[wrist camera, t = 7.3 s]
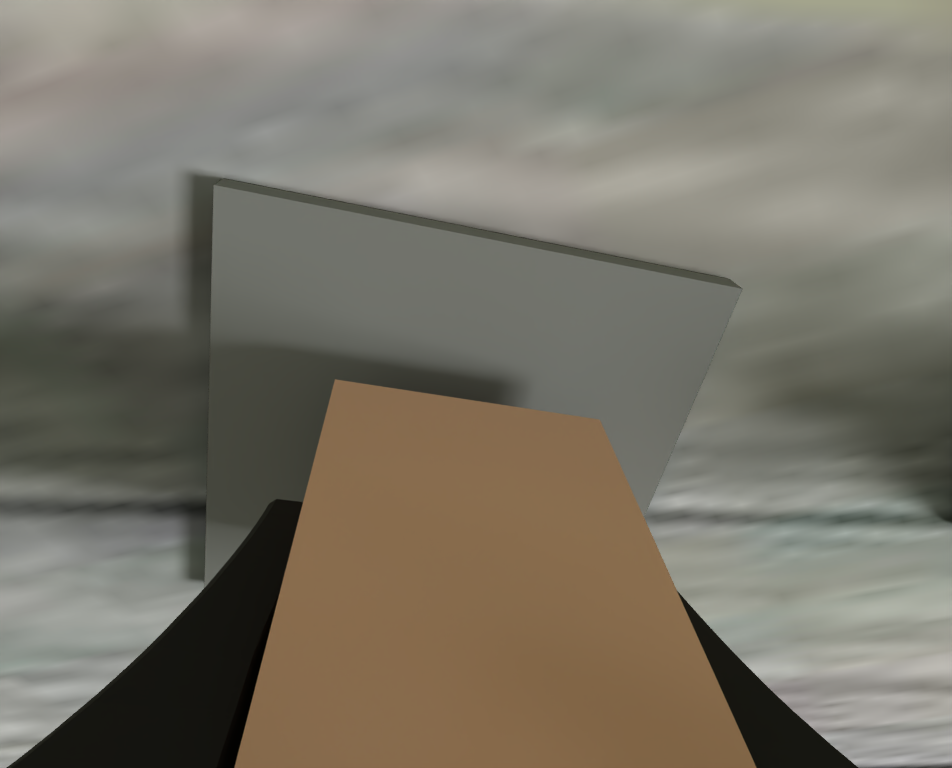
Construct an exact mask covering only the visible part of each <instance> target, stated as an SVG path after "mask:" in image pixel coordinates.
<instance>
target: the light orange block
mask: <svg viewBox="0 0 952 768" xmlns="http://www.w3.org/2000/svg"><path fill="white" fill-rule="evenodd" d="M235 768H756V766H755V763H754V761H753V759H752V757H751V754H750V752H749V750H748V748H747V746H746V743H745V741H744V739H743V737H742V734H741V732H740V730H739V728H738V726H737V723H736V721H735V719H734V717H733V714H732V712H731V710H730V708H729V706H728V703H727V701H726V699H725V697H724V694H723V692H722V690H721V688H720V686H719V683H718V681H717V679H716V677H715V674H714V672H713V670H712V668H711V666H710V663H709V661H708V659H707V657H706V654H705V652H704V650H703V648H702V646H701V643H700V641H699V639H698V637H697V634H696V632H695V630H694V628H693V626H692V623H691V621H690V619H689V617H688V614H687V612H686V610H685V608H684V606H683V603H682V601H681V599H680V597H679V595H678V592H677V590H676V588H675V586H674V583H673V581H672V579H671V577H670V575H669V572H668V570H667V568H666V566H665V563H664V561H663V559H662V557H661V555H660V552H659V550H658V548H657V546H656V543H655V541H654V539H653V537H652V535H651V532H650V530H649V528H648V526H647V523H646V521H645V519H644V517H643V515H642V512H641V510H640V508H639V506H638V503H637V501H636V499H635V497H634V495H633V492H632V490H631V488H630V486H629V483H628V481H627V479H626V477H625V475H624V472H623V470H622V468H621V466H620V463H619V461H618V459H617V457H616V455H615V452H614V450H613V448H612V446H611V443H610V441H609V439H608V437H607V435H606V432H605V430H604V428H603V426H602V423H601V421H600V420H599V419H593V418H586V417H580V416H573V415H566V414H560V413H553V412H547V411H540V410H533V409H527V408H520V407H514V406H507V405H501V404H494V403H487V402H481V401H474V400H468V399H461V398H454V397H448V396H441V395H435V394H428V393H421V392H415V391H408V390H402V389H395V388H389V387H382V386H375V385H369V384H362V383H356V382H349V381H342V380H336V379H335V381H334V385H333V389H332V393H331V397H330V400H329V404H328V408H327V412H326V416H325V420H324V424H323V427H322V431H321V435H320V439H319V443H318V447H317V451H316V455H315V458H314V462H313V466H312V470H311V474H310V478H309V482H308V485H307V489H306V493H305V497H304V501H303V505H302V509H301V512H300V516H299V520H298V524H297V528H296V532H295V536H294V540H293V543H292V547H291V551H290V555H289V559H288V563H287V567H286V570H285V574H284V578H283V582H282V586H281V590H280V594H279V597H278V601H277V605H276V609H275V613H274V617H273V621H272V625H271V628H270V632H269V636H268V640H267V644H266V648H265V652H264V655H263V659H262V663H261V667H260V671H259V675H258V679H257V683H256V686H255V690H254V694H253V698H252V702H251V706H250V710H249V713H248V717H247V721H246V725H245V729H244V733H243V737H242V740H241V744H240V748H239V752H238V756H237V760H236V764H235Z"/></svg>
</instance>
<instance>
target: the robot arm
mask: <svg viewBox="0 0 952 768" xmlns="http://www.w3.org/2000/svg"><path fill="white" fill-rule="evenodd" d="M302 505H303V502H299V501H290V500H282V499H276V500H274V501H272V502H271V503H269V504H268V506H267V508H266V509H265V511H264V513H263V514H262V516H261V517H260V519H259V520H258V522H257V523H256V525H255V526H254V527H253V529H252V530H251V532H250V533H249V534H248V536H247V537H246V538H245V540H244V541H243V542H242V543H241V545H240V546H239V547H238V549H237V550H236V551H235V552H234V554H233V555H232V556H231V557H230V559H229V560H228V561H227V562H226V563H225V565H224V566H223V567H222V568H221V569H220V570H219V572H218V573H217V574H216V575H215V576H214V578H213V579H212V580H211V581H210V582H209V583H208V585H207V586H206V587H205V588H204V589H203V590H202V592H201V593H200V594H199V595H198V596H197V597H196V598H195V599H194V600H193V601H192V602H191V603H190V604H189V606H188V607H187V608H186V609H185V610H184V611H183V612H182V613H181V614H180V615H179V616H178V617H177V618H176V619H175V620H174V621H173V622H172V623H171V624H170V625H169V627H168V628H167V629H166V630H165V631H164V632H163V633H162V634H161V635H160V636H159V637H158V638H157V639H156V640H155V641H154V642H153V643H152V644H151V645H150V646H149V647H148V648H147V649H146V650H145V651H144V652H143V653H142V654H141V655H139V656H138V657H137V658H136V659H135V660H134V661H133V662H132V663H131V664H130V665H129V666H128V667H127V668H126V669H125V670H123V671H122V672H121V673H120V674H119V675H118V676H117V677H116V678H115V679H113V680H112V681H111V682H110V683H109V684H108V685H107V686H106V687H105V688H104V689H102V690H101V691H100V692H99V693H98V694H97V695H96V696H94V697H93V698H92V699H91V700H90V701H88V702H87V703H86V704H85V705H84V706H83V707H81V708H80V709H79V710H78V711H77V712H75V713H74V714H73V715H72V716H71V717H69V718H68V719H67V720H66V721H65V722H64V723H62V724H61V725H60V726H59V727H58V728H56V729H55V730H54V731H53V732H52V733H50V734H49V735H48V736H47V737H45V738H44V739H43V740H42V741H40V742H39V743H38V744H37V745H35V746H34V747H33V748H32V749H30V750H29V751H28V752H27V753H25V754H24V755H23V756H22V757H20V758H19V759H18V760H16V761H15V762H14V763H12V764H11V765H10V766H8V767H7V768H235V764H236V760H237V756H238V752H239V748H240V744H241V740H242V737H243V733H244V729H245V725H246V721H247V717H248V713H249V710H250V706H251V702H252V698H253V694H254V690H255V686H256V683H257V679H258V675H259V671H260V667H261V663H262V659H263V655H264V652H265V648H266V644H267V640H268V636H269V632H270V628H271V625H272V621H273V617H274V613H275V609H276V605H277V601H278V597H279V594H280V590H281V586H282V582H283V578H284V574H285V570H286V567H287V563H288V559H289V555H290V551H291V547H292V543H293V540H294V536H295V532H296V528H297V524H298V520H299V516H300V512H301V509H302ZM677 592H678V591H677ZM678 595H679V597H680V599H681V601H682V603H683V606H684V608H685V610H686V612H687V614H688V617H689V619H690V621H691V623H692V626H693V628H694V630H695V632H696V634H697V637H698V639H699V641H700V643H701V646H702V648H703V650H704V652H705V654H706V657H707V659H708V661H709V663H710V666H711V668H712V670H713V672H714V674H715V677H716V679H717V681H718V683H719V686H720V688H721V690H722V692H723V694H724V697H725V699H726V701H727V703H728V706H729V708H730V710H731V712H732V714H733V717H734V719H735V721H736V723H737V726H738V728H739V730H740V732H741V734H742V737H743V739H744V741H745V743H746V746H747V748H748V750H749V752H750V754H751V757H752V759H753V761H754V763H755V766H756V768H858V767H857V766H856V765H854V764H853V763H852V762H851V761H850V760H848V759H847V758H846V757H845V756H844V755H842V754H841V753H840V752H839V751H838V750H836V749H835V748H834V747H833V746H832V745H831V744H829V743H828V742H827V741H826V740H825V739H824V738H823V737H822V736H820V735H819V734H818V733H817V732H816V731H815V730H814V729H813V728H811V727H810V726H809V725H808V724H807V723H806V722H805V721H804V720H802V719H801V718H800V717H799V716H798V715H797V714H796V713H795V712H793V711H792V710H791V709H790V708H789V707H788V706H787V705H786V704H785V703H784V702H783V701H782V700H781V699H780V698H778V697H777V696H776V695H775V694H774V693H773V692H772V691H771V690H770V689H769V688H768V687H767V686H766V685H765V684H764V683H763V682H762V681H761V680H760V679H759V678H758V677H757V676H756V675H755V674H754V673H753V672H752V671H751V670H750V669H749V668H748V667H747V666H746V665H745V664H744V663H743V662H742V661H741V660H740V659H739V658H738V657H737V656H736V655H735V654H734V653H733V652H732V650H731V649H730V648H729V647H728V646H727V645H726V644H725V643H724V642H723V641H722V640H721V639H720V638H719V637H718V636H717V635H716V633H715V632H714V631H713V630H712V629H711V628H710V627H709V626H708V625H707V624H706V623H705V621H704V620H703V619H702V618H701V617H700V616H699V615H698V614H697V613H696V612H695V610H694V609H693V608H692V607H691V606H690V605H689V604H688V603H687V601H686V600H685V599H684V598H683V597H682V596H681V595H680V594H679V592H678Z"/></svg>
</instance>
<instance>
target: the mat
mask: <svg viewBox="0 0 952 768" xmlns="http://www.w3.org/2000/svg"><path fill="white" fill-rule="evenodd" d="M741 291H742V288H741V287H739V286H738V285H737V284H735V283H734V282H733V281H731V280H730V279H727V278H722V277H717V276H712V275H706V274H701V273H696V272H691V271H686V270H681V269H676V268H671V267H666V266H661V265H656V264H651V263H646V262H641V261H636V260H631V259H626V258H621V257H616V256H611V255H606V254H601V253H596V252H591V251H586V250H581V249H576V248H571V247H566V246H561V245H556V244H551V243H545V242H540V241H535V240H530V239H525V238H520V237H515V236H510V235H505V234H500V233H495V232H490V231H485V230H480V229H475V228H470V227H465V226H460V225H455V224H450V223H445V222H440V221H435V220H430V219H425V218H420V217H415V216H410V215H405V214H400V213H395V212H390V211H384V210H379V209H374V208H369V207H364V206H359V205H354V204H349V203H344V202H339V201H334V200H329V199H324V198H319V197H314V196H309V195H304V194H299V193H294V192H289V191H284V190H279V189H274V188H269V187H264V186H259V185H254V184H249V183H244V182H239V181H234V180H229V179H222V180H220V181H219V182H217V183H216V184H214V187H213V231H212V275H211V319H210V363H209V407H208V451H207V495H206V539H205V583H204V588H205V587H206V586H207V585H208V583H209V582H210V581H211V580H212V579H213V578H214V576H215V575H216V574H217V573H218V572H219V570H220V569H221V568H222V567H223V566H224V565H225V563H226V562H227V561H228V560H229V559H230V557H231V556H232V555H233V554H234V552H235V551H236V550H237V549H238V547H239V546H240V545H241V543H242V542H243V541H244V540H245V538H246V537H247V536H248V534H249V533H250V532H251V530H252V529H253V527H254V526H255V525H256V523H257V522H258V520H259V519H260V517H261V516H262V514H263V513H264V511H265V509H266V508H267V506H268V504H269V503H271V502H272V501H274V500H276V499H282V500H290V501H299V502H303V501H304V497H305V493H306V489H307V485H308V482H309V478H310V474H311V470H312V466H313V462H314V458H315V455H316V451H317V447H318V443H319V439H320V435H321V431H322V427H323V424H324V420H325V416H326V412H327V408H328V404H329V400H330V397H331V393H332V389H333V385H334V381H335V379H336V380H342V381H349V382H356V383H362V384H369V385H375V386H382V387H389V388H395V389H402V390H408V391H415V392H421V393H428V394H435V395H441V396H448V397H454V398H461V399H468V400H474V401H481V402H487V403H494V404H501V405H507V406H514V407H520V408H527V409H533V410H540V411H547V412H553V413H560V414H566V415H573V416H580V417H586V418H593V419H599V420H600V421H601V423H602V426H603V428H604V430H605V432H606V435H607V437H608V439H609V441H610V443H611V446H612V448H613V450H614V452H615V455H616V457H617V459H618V461H619V463H620V466H621V468H622V470H623V472H624V475H625V477H626V479H627V481H628V483H629V486H630V488H631V490H632V492H633V495H634V497H635V499H636V501H637V503H638V506H639V508H640V510H641V512H642V515H643V517H644V516H645V514H646V512H647V509H648V507H649V505H650V502H651V500H652V498H653V495H654V493H655V491H656V488H657V486H658V484H659V481H660V479H661V477H662V474H663V472H664V470H665V467H666V465H667V463H668V461H669V458H670V456H671V454H672V451H673V449H674V447H675V444H676V442H677V440H678V437H679V435H680V433H681V430H682V428H683V426H684V423H685V421H686V419H687V417H688V414H689V412H690V410H691V407H692V405H693V403H694V400H695V398H696V396H697V393H698V391H699V389H700V386H701V384H702V382H703V379H704V377H705V375H706V372H707V370H708V368H709V366H710V363H711V361H712V359H713V356H714V354H715V352H716V349H717V347H718V345H719V342H720V340H721V338H722V335H723V333H724V331H725V328H726V326H727V324H728V322H729V319H730V317H731V315H732V312H733V310H734V308H735V305H736V303H737V301H738V298H739V296H740V294H741Z"/></svg>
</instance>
